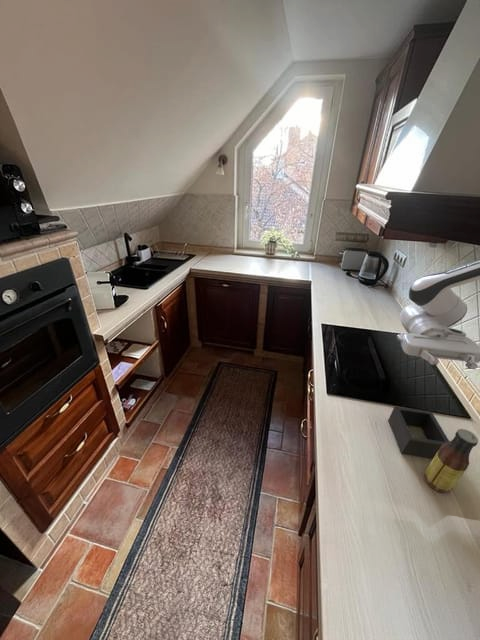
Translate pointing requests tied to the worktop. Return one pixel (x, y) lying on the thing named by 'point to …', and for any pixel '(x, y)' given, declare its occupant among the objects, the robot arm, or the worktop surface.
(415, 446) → the caddy
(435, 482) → the sauce bottle
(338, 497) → the worktop surface
